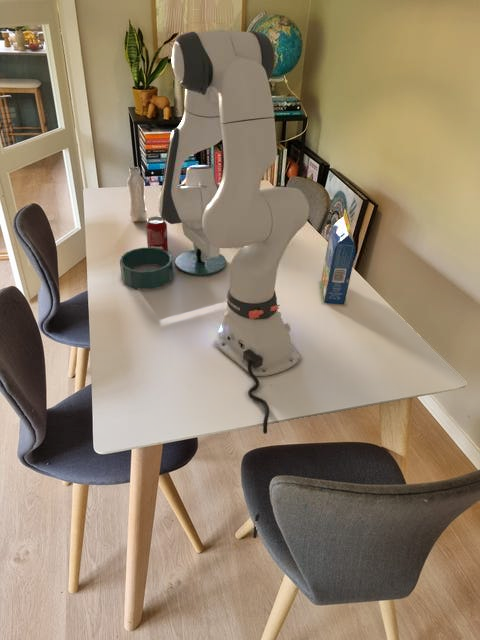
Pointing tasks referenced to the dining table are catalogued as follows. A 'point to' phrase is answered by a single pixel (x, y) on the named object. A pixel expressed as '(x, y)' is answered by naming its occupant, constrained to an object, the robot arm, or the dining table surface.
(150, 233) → the soda can
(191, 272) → the pan lid
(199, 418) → the dining table surface
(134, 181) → the plastic bottle
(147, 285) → the pan
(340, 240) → the blue food package
